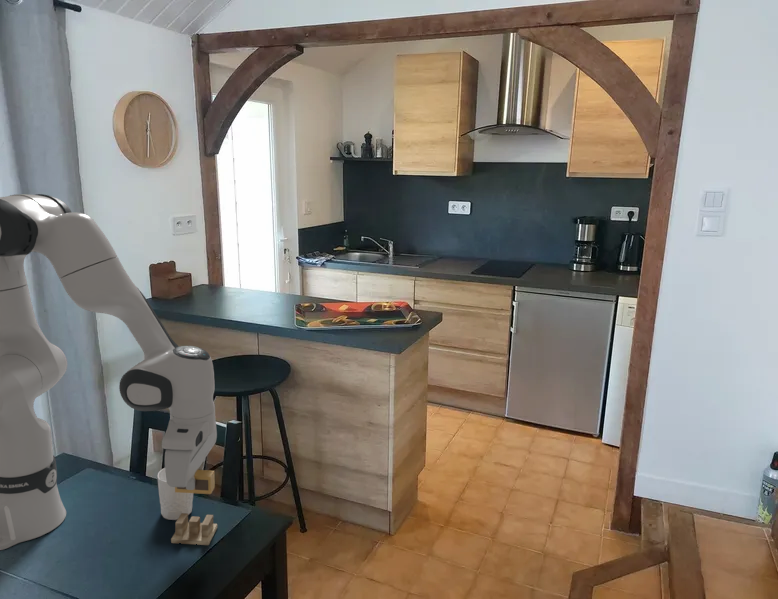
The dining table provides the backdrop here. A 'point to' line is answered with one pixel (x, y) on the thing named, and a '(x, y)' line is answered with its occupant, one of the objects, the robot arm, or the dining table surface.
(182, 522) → the display stand
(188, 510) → the white cup
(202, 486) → the tan rectangular block
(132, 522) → the dining table surface
